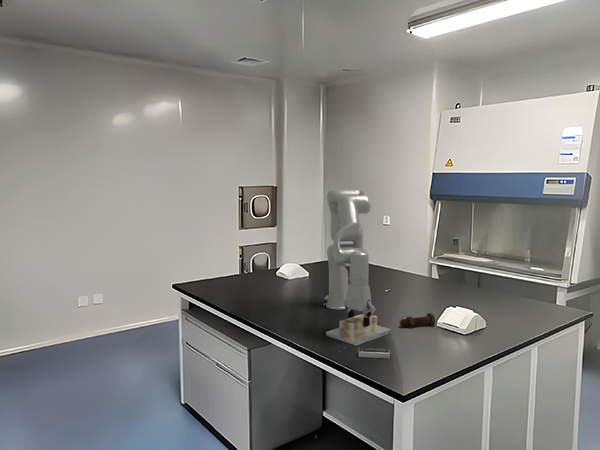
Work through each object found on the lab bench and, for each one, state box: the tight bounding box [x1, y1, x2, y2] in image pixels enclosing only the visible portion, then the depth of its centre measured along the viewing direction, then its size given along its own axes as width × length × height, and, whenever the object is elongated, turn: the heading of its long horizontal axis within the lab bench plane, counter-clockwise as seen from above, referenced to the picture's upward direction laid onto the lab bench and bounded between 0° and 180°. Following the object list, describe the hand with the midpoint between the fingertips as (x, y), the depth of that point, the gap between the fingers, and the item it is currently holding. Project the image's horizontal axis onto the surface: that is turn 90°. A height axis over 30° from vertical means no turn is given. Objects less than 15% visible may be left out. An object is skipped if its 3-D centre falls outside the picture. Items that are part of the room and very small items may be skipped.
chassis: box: [325, 324, 392, 347], centre depth 188 cm, size 16×22×4 cm
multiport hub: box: [358, 347, 391, 359], centre depth 165 cm, size 4×11×2 cm, turn 82°
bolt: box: [398, 312, 436, 328], centre depth 198 cm, size 6×5×15 cm
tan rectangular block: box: [339, 313, 378, 337], centre depth 188 cm, size 6×16×5 cm, turn 132°
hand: (358, 323), depth 188 cm, fingers open, 7 cm apart
